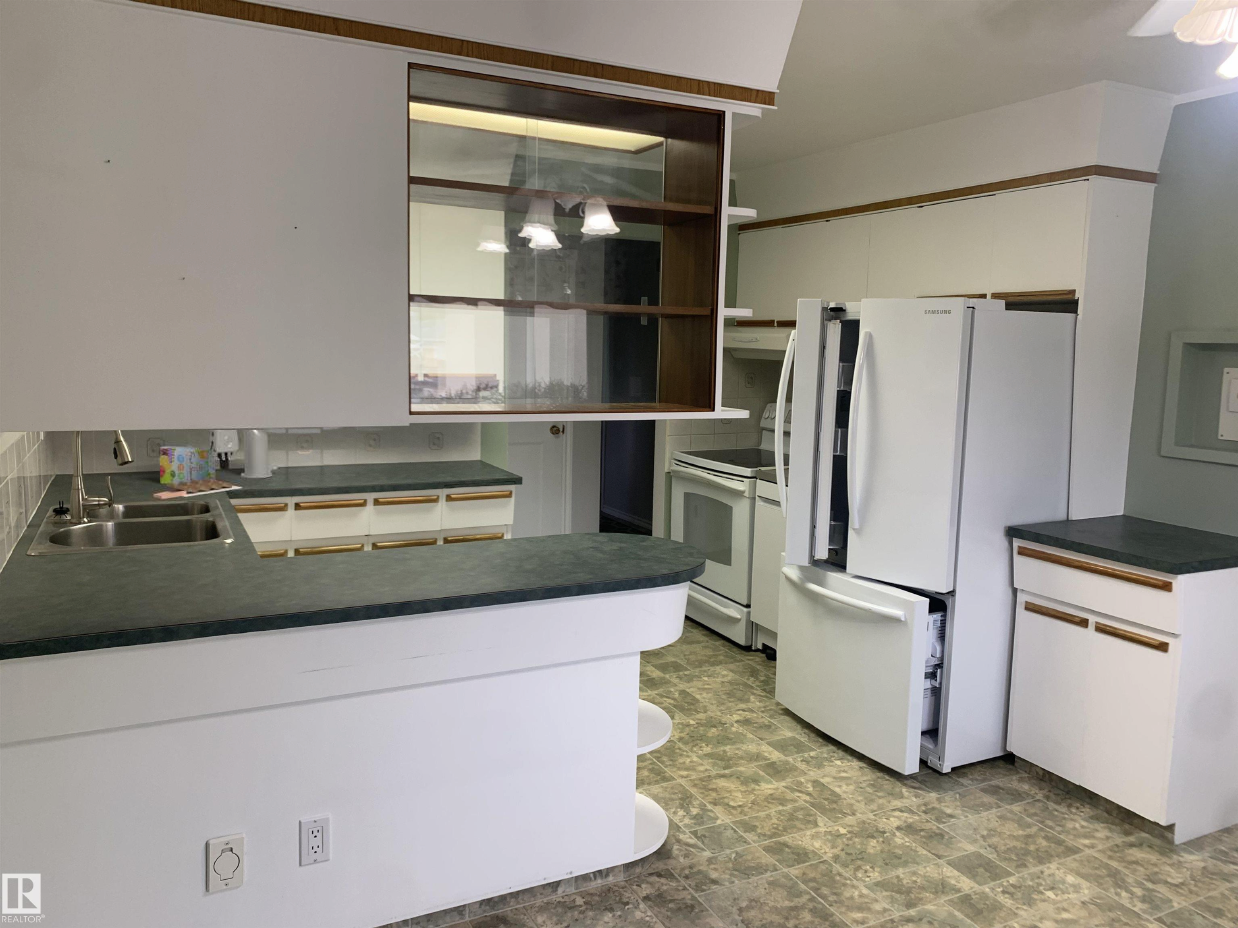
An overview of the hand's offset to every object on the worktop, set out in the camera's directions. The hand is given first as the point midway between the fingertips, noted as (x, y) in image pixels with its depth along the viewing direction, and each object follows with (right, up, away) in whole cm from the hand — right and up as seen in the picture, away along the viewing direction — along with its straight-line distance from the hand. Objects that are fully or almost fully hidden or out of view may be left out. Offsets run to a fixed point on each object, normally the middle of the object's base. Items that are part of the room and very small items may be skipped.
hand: (224, 468), depth 353 cm
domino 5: (+1, -7, +2) cm, 7 cm away
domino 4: (-2, -7, -2) cm, 8 cm away
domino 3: (-4, -8, -6) cm, 11 cm away
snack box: (-19, -6, +9) cm, 22 cm away
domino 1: (-10, -9, -15) cm, 20 cm away
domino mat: (-4, -9, -6) cm, 11 cm away
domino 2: (-7, -8, -11) cm, 15 cm away
